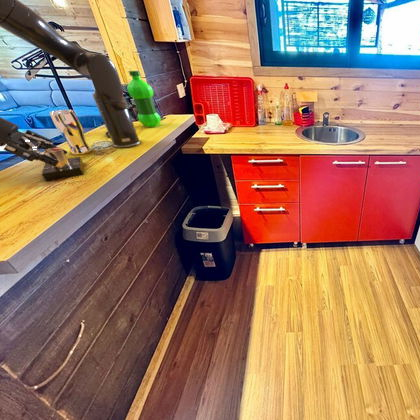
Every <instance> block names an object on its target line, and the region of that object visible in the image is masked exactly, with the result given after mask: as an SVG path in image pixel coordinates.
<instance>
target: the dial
mask: <svg viewBox="0 0 420 420" xmlns="http://www.w3.org/2000/svg"><path fill="white" fill-rule="evenodd" d="M62 149H63V148H62V147H59V148H50V149H43V150H42V152H43V153H42V154H45V155H48V156H50V157H52V158H55V159H57V160H59V162H58V164H57V165H56V166H52V165H51V166H52V168H54V169H61V168H65V167H68V166H70V165H71V164H70V162H69V161H68V159H69V158H68V157H67V154H66V155H65V153H64V151H63V150H64V149H63V150H62Z"/></svg>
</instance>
